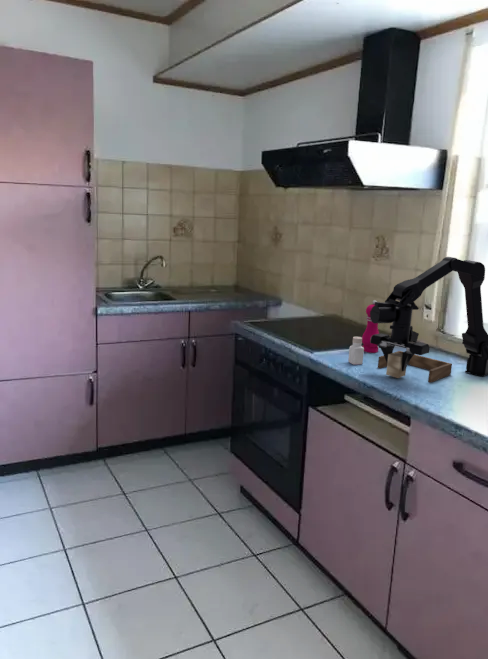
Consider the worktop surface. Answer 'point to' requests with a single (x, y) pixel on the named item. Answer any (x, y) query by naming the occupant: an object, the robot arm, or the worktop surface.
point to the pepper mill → (370, 332)
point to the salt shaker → (356, 351)
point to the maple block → (395, 365)
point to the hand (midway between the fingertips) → (396, 368)
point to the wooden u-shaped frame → (425, 366)
